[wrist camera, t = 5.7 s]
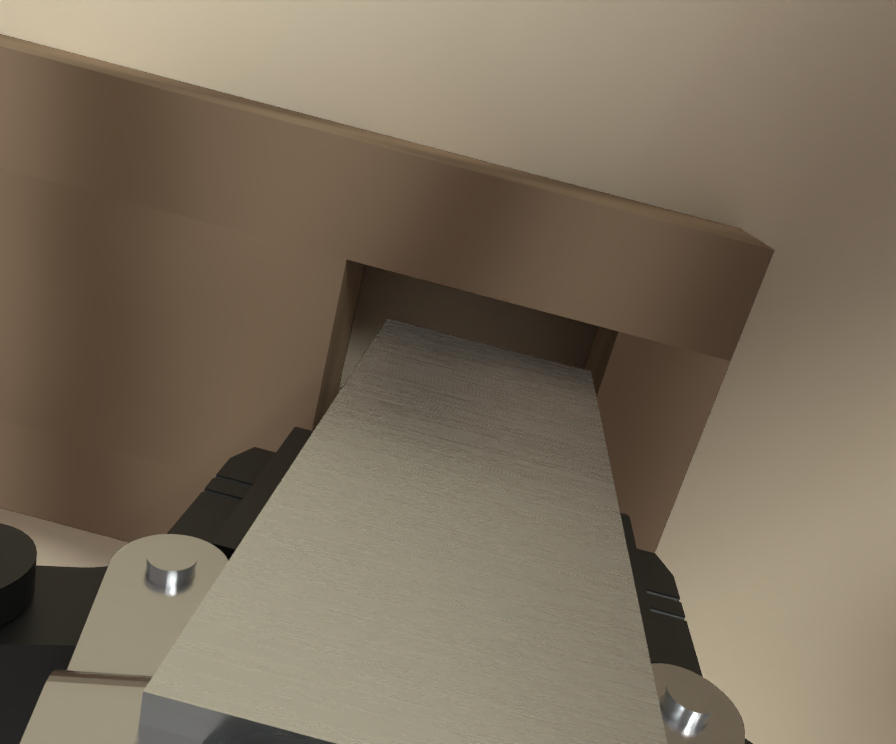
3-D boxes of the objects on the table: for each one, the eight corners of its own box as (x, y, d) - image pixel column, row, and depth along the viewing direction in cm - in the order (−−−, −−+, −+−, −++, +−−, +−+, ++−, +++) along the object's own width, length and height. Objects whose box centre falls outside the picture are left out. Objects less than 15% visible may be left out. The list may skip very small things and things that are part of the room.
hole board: (740, 228, 17) (777, 252, 14) (598, 604, 20) (608, 676, 18) (-330, -53, 17) (-481, -80, 15) (-292, 366, 21) (-408, 404, 18)
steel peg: (590, 371, 15) (686, 838, 6) (534, 546, 16) (534, 1156, 7) (387, 318, 15) (143, 690, 6) (348, 497, 16) (99, 1035, 7)
